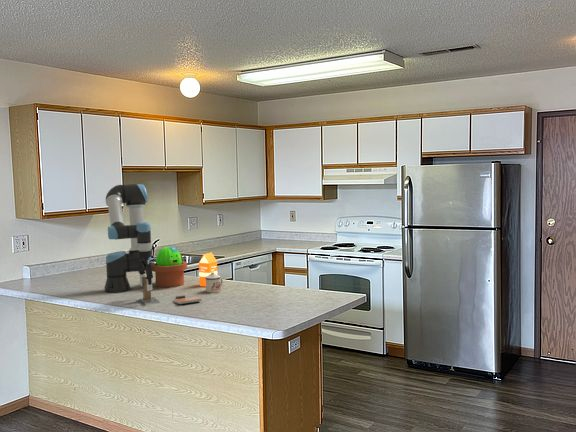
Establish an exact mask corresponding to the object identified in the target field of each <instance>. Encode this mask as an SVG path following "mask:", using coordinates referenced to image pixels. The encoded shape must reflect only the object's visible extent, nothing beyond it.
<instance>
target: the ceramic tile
mask: <svg viewBox="0 0 576 432" xmlns="http://www.w3.org/2000/svg"><path fill="white" fill-rule="evenodd" d="M196 302H202V298H199V297H196V296H195V297H194V296H193V297H185V298H181V299H172V303H175V304H177V305H178V304H179V305H183V304H191V303H196Z"/></svg>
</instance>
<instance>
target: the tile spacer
mask: <svg viewBox="0 0 576 432" xmlns="http://www.w3.org/2000/svg"><path fill="white" fill-rule="evenodd" d="M185 298H186V295H185V294H184V295H183V294H182V295H178V296H175V300H178V299H185Z"/></svg>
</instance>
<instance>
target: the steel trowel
mask: <svg viewBox="0 0 576 432" xmlns="http://www.w3.org/2000/svg"><path fill="white" fill-rule="evenodd" d="M146 278H147V276H145V277H142V285H143V286H142V298H138V300H139V301H140V302H142V303H143V304H144V305H146V306H147V305H152V304H159V303H160V300H158V298H156V297H154V296H152V290H149V291H147V279H146Z"/></svg>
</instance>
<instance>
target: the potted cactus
mask: <svg viewBox="0 0 576 432" xmlns="http://www.w3.org/2000/svg"><path fill="white" fill-rule="evenodd" d="M182 259H183V257H182V255H181V252H179V250H178V248H176V247H175V246H164V247H162V248H161V249H160V250H158V252H157V254H156V258H155V262H153V263H151V268H152V272H154V275H155V286H157V287H158V288H159V287H160V288H174V287H180V286H182V285H184V284H185V272H184V271H185V270H187V269H188V262H187V261H184V260H182Z"/></svg>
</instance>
